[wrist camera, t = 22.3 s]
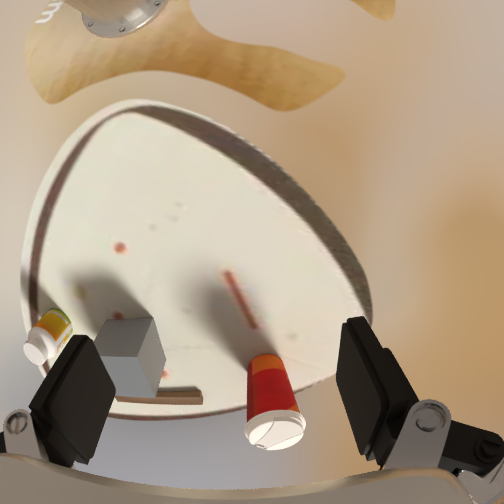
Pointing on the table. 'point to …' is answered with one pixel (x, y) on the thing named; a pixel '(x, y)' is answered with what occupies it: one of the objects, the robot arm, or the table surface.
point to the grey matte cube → (132, 356)
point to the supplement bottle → (47, 336)
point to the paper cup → (271, 405)
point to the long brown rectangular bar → (168, 398)
